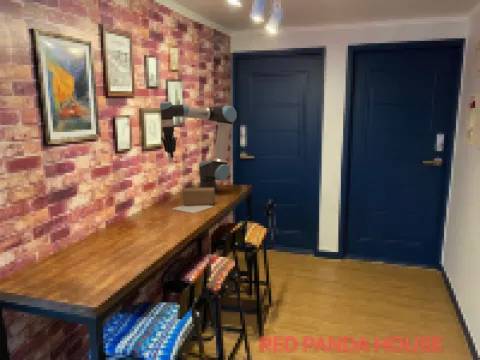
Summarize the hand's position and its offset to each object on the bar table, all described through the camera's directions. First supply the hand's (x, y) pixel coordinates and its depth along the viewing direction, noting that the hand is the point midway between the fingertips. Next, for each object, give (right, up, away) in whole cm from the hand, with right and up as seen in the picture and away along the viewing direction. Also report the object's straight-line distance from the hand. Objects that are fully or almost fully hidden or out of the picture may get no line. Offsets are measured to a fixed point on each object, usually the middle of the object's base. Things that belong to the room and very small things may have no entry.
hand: (171, 162), depth 243 cm
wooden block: (+8, -22, +1) cm, 24 cm away
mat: (+15, -29, -8) cm, 34 cm away
